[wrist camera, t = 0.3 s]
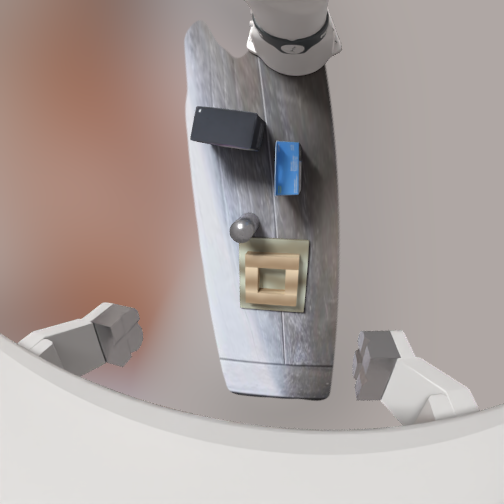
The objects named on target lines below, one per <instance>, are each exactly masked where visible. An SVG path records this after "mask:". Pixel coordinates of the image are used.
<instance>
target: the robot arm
mask: <svg viewBox="0 0 504 504" xmlns="http://www.w3.org/2000/svg"><path fill="white" fill-rule="evenodd" d="M244 1H246V3H247V4H248V6H249V7H250V9H251V16H252V17H253V21H250V27H251V30H250V34H249V38H248V42H247V49H248V51H250V52H251V53H253V54H255V55H258V56H259V57H260V58H261V59H262V60H263V61H264V63H265V64H266V65H267V66H269V67H270V68H271V69H273V70H275V71H277V72H279V73H282V74H286V75H292V76H300V75H306V74H310V73H313V72H315V71H317V70H318V69H320V68H321V67H322V66H323V65H324V64H325V63H326V62H327V61H328V59H329V58H330V57H331V56H334V55H336V54H337V53H339V52H340V51H341V50H342V46H341V43H340V40H339V37H338V34H337V31H336V28H335V26H334V23H333V20H332V18H331V15H330V13H329V10H328V0H244ZM252 42H253V43H252ZM335 42H336V43H335ZM139 319H140V318H139V314H138V311H137V310H136V309H135V308H131V307H126V306H121V305H117V304H112V303H102V304H101V305H100V306H98V307H97V308H96V309H94V310H93V311H92V312H90V313H89V314H88V315H87V316H85V317H84V318H82V319H76V320H73V321H70V322H66V323H63V324H59V325H56V326H52V327H48V328H44V329H41V330H37V331H33V332H32V333H30V334H29V335H28V336H26V337H25V338H24V339H22V340H21V341H20V342H19V343H17V344H16V343H15V342H13V341H11V340H10V339H8V338H7V337H5V336H3V335H2V334H0V504H504V404H501V405H498V406H495V407H491V408H488V409H485V410H481V411H480V410H479V408H478V406H477V404H476V402H475V400H474V398H473V396H472V394H471V392H470V390H469V388H467V387H466V386H464V385H463V384H461V383H459V382H458V381H456V380H455V379H453V378H452V377H450V376H448V375H447V374H445V373H444V372H442V371H441V370H439V369H438V368H436V367H434V366H433V365H431V364H430V363H428V362H426V361H425V360H423V359H422V358H420V357H416V356H415V354H414V352H413V350H412V348H411V346H410V344H409V342H408V340H407V338H406V336H405V334H404V332H403V331H402V330H390V331H361V332H360V334H359V338H358V345H359V349H358V350H356V351H355V354H354V359H353V377H354V378H355V379H356V380H357V381H356V384H355V390H356V397H357V400H381V402H382V403H383V404H384V405H385V406H386V407H387V409H388V410H389V411H390V412H391V413H392V414H393V415H394V416H395V417H396V418H397V420H398V421H399V422H400V423H401V424H402V425H403V426H397V427H386V428H373V429H354V430H313V429H294V428H282V427H271V426H262V425H254V424H246V423H239V422H234V421H227V420H221V419H216V418H211V417H206V416H201V415H197V414H192V413H188V412H184V411H180V410H176V409H172V408H168V407H165V406H161V405H157V404H154V403H151V402H147V401H144V400H141V399H137V398H135V397H131V396H129V395H126V394H123V393H120V392H117V391H114V390H112V389H109V388H106V387H104V386H101V385H99V384H96V383H94V382H92V381H89V380H87V379H84V378H82V377H80V376H82V375H84V374H86V373H88V372H90V371H92V370H94V369H96V368H98V367H100V366H101V365H103V364H105V363H106V362H107V363H110V364H114V365H117V366H121V367H123V366H124V365H125V364H126V363H127V362H128V361H129V360H130V358H131V357H132V356H131V353H132V352H134V351H137V350H138V349H139V348H140V346H141V344H142V341H143V332H142V328H141V327H140V326H139V325H138V321H139Z"/></svg>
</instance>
